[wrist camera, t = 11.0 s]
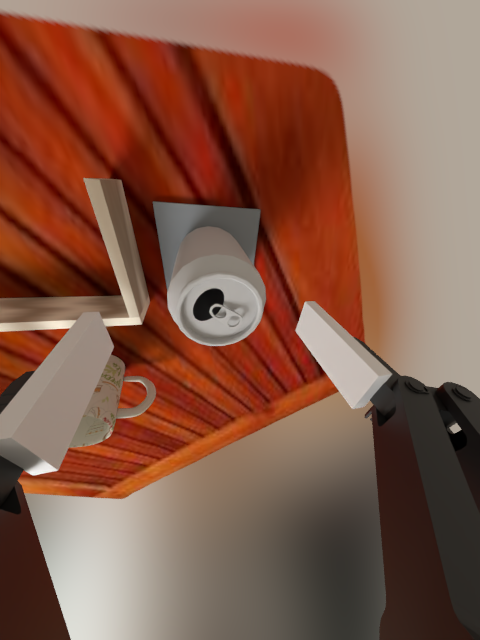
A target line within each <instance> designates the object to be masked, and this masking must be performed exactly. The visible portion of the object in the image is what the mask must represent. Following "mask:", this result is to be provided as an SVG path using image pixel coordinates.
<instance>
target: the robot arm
mask: <svg viewBox="0 0 480 640" xmlns="http://www.w3.org/2000/svg"><path fill="white" fill-rule="evenodd" d="M296 332H297V334H298V335H299V337H300V338H301V339H302V341H303V342H304V343H305V345H306V346H307V348H308V349H309V350H310V352H311V353H312V354H313V356H314V357H315V359H316V360H317V361H318V363H319V364H320V365H321V367H322V368H323V370H324V371H325V372H326V374H327V375H328V376H329V378H330V379H331V381H332V382H333V383H334V385H335V386H336V387H337V389H338V390H339V392H340V393H341V394H342V396H343V397H344V398H345V400H346V401H347V402H348V404H349V405H350V406H351V408H352V409H356V408H361V407H364V406H365V405H366V404H367V403H368V402H369V401H371V402H372V403H373V404H374V405H373V406H372V407H371V408H370V410H369V411H368V412H367V413H366V414H365V418H368V417H369V415H371V414H372V418H371V419H370V420H371V421H372V425H373V435H374V449H375V460H376V461H375V462H376V475H377V486H378V499H379V512H380V525H381V537H382V550H383V562H384V575H385V586H386V608H385V611H384V613H383V615H382V618H381V622H380V640H480V399H479V398H478V397H477V396H476V395H475V394H474V393H472V392H471V391H469V390H468V389H467V388H465V387H463V386H461V385H458V384H455V383H452V382H446V383H444V384H443V385H441V386H440V387H439V388H434V387H427V386H425V385H424V384H423V383H421V382H420V381H418V380H416V379H414V378H412V377H408V376H400V375H399V374H398V373H397V372H396V371H394V370H393V369H392V368H391V367H390V366H389V365H388V364H387V363H386V362H384V361H383V360H382V359H381V358H380V357H379V356H378V355H376V353H374V351H372V350H370V348H369V347H368V346H367V345H366V344H365V343H364V342H362V341H360V340H359V339H357V338H355V337H352V336H351V335H350V334H349V333H348V332H347V331H346V330H345V329H344V328H343V327H342V326H340V325H339V324H338V323H337V322H336V321H335V320H334V319H333V318H332V317H331V316H330V315H329V314H328V313H327V312H325V311H324V310H323V309H322V308H321V307H320V306H319V305H318V304H317V303H316V302H315V301H307V302H305V303H304V306H303V310H302V313H301V316H300V319H299V322H298V325H297V328H296ZM113 349H114V345H113V343H112V341H111V338H110V336H109V334H108V331H107V329H106V327H105V324H104V322H103V320H102V318H101V315H100V313H99V312H83V313H82V315H81V316H80V317H79V318H78V319H77V321H76V322H75V323H74V324H73V326H72V327H71V328H70V329H69V331H68V332H67V333H66V334H65V335H64V337H63V338H62V339H61V340H60V342H59V343H58V344H57V345H56V346H55V348H54V349H53V350H52V351H51V353H50V354H49V355H48V356H47V357H46V359H45V360H44V361H43V362H42V364H41V365H40V366H39V367H38V368H37V370H36V371H30V372H26V373H24V374H23V375H22V376H20V377H19V378H17V379H16V380H15V381H13V382H12V383H11V384H10V385H9V386H8V387H7V388H6V390H5V391H4V392H3V393H2V394H1V397H0V640H71V639H70V636H69V633H68V630H67V626H66V623H65V620H64V617H63V614H62V611H61V608H60V604H59V601H58V598H57V595H56V592H55V589H54V586H53V582H52V580H51V576H50V573H49V570H48V567H47V564H46V561H45V557H44V554H43V551H42V548H41V545H40V542H39V539H38V536H37V532H36V529H35V526H34V523H33V520H32V517H31V514H30V511H29V508H28V505H27V501H26V498H25V495H24V492H23V489H22V485H21V484H20V483H19V482H18V481H17V480H18V479H19V477H20V475H21V473H22V472H23V470H24V471H26V472H28V473H29V474H31V475H38V474H43V473H48V472H53V471H57V470H59V467H60V465H61V463H62V461H63V459H64V456H65V454H66V452H67V450H68V448H69V445H70V443H71V441H72V439H73V437H74V434H75V432H76V430H77V428H78V426H79V423H80V421H81V419H82V417H83V415H84V412H85V410H86V408H87V406H88V404H89V401H90V399H91V397H92V395H93V393H94V390H95V388H96V386H97V384H98V382H99V379H100V377H101V375H102V373H103V371H104V368H105V366H106V364H107V362H108V360H109V357H110V355H111V353H112V351H113ZM455 423H458V425H459V426H460V427H461V429H462V430H460V431H459V432H457V433H455V434H454V433H453V432H452V431H451V430H450V428H449V427H451V426H452V425H454V424H455Z"/></svg>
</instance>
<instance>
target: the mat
mask: <svg viewBox="0 0 480 640" xmlns="http://www.w3.org/2000/svg"><path fill="white" fill-rule="evenodd" d="M153 208H154V214H155V220H156V226H157V232H158V238H159V244H160V250H161V256H162V262H163V268H164V274H165V280H166V286H167V291H168V289H169V285H170V281H171V277H172V273H173V269H174V265H175V261H176V257H177V253H178V250H179V247H180V244H181V242H182V241H183V239H184V238H185V237H186V236H187V234H189V233H190V232H192V231H194V230H195V229H197V228H201V227H206V226H211V227H217V228H221V229H223V230H224V231H226V232H228V233H230V234H231V235H232V236H233V237H234V238H235V240H236V241H237V242H238V243H239V245H240V246H241V248H242V249H243V251H244V252H245V254H246V255H247V257H248V258H249V260H250V261H251V262H252V264H253V265H254V259H255V251H256V243H257V235H258V227H259V219H260V211H261V210H260V209H250V208H236V207H223V206H209V205H196V204H183V203H169V202H156V201H153Z"/></svg>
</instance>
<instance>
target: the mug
mask: <svg viewBox="0 0 480 640" xmlns="http://www.w3.org/2000/svg"><path fill="white" fill-rule="evenodd" d="M124 373H125V364H124V363H123V361H122V360H121V359H119V358H118V357H116V356H114V355H110V357H109V360H108V362H107V364H106V366H105V368H104V371H103V373H102V375H101V377H100V379H99V382H98V384H97V386H96V388H95V390H94V393H93V395H92V397H91V399H90V401H89V404H88V406H87V408H86V410H85V412H84V415H83V417H82V419H81V421H80V423H79V426H78V428H77V430H76V432H75V434H74V437H73V439H72V441H71V443H70V445H69V447H83V446H89V445H93V444H96V443H99V442H102V441H104V440H105V439H107V438H108V437H109V436H110V435H111V434H112V432H113V429H114V425H115V420H116V418H129V417H135V416H138V415H140V414H141V413H143V412H144V411H145V410H147V409H148V408H149V407H150V405H151V404H152V403H153V401H154V399H155V396H156V389H155V386H154V384H153V383H152V382H151V381H150V380H148V379H146V378H144V377H142V376H128V377H124ZM123 381H137V382H141V383H142V384H143V385H144V386H145V387H146V389H147V396H146V398H145V400H144V401H143V402H142V403H141V404H140V405H138V406H136V407H134V408H119V409H118V404H119V399H120V394H121V389H122V383H123Z"/></svg>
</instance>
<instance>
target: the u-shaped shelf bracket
mask: <svg viewBox="0 0 480 640" xmlns="http://www.w3.org/2000/svg"><path fill="white" fill-rule="evenodd" d="M83 179H84V182H85V185H86V188H87V191H88V194H89V197H90V200H91V203H92V206H93V209H94V212H95V215H96V218H97V221H98V224H99V227H100V230H101V233H102V236H103V239H104V242H105V245H106V248H107V251H108V254H109V257H110V260H111V263H112V266H113V269H114V272H115V275H116V278H117V281H118V284H119V287H120V290H121V293H122V296H81V297H33V298H0V332H3V331H23V330H43V329H63V328H71V327H72V326H73V324H74V323H75V322H76V321H77V319H78V318H79V317H80V316H81V315H82V313H83V312H99V313H100V315H101V318H102V320H103V322H104V324H105V326H122V325H142V323H143V320H144V317H145V315H146V312H147V309H148V306H149V304H150V299H149V294H148V290H147V286H146V282H145V278H144V273H143V269H142V265H141V261H140V256H139V252H138V248H137V244H136V240H135V235H134V231H133V227H132V223H131V219H130V214H129V210H128V206H127V202H126V197H125V193H124V189H123V185H122V181H121V180H117V179H100V178H83Z"/></svg>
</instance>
